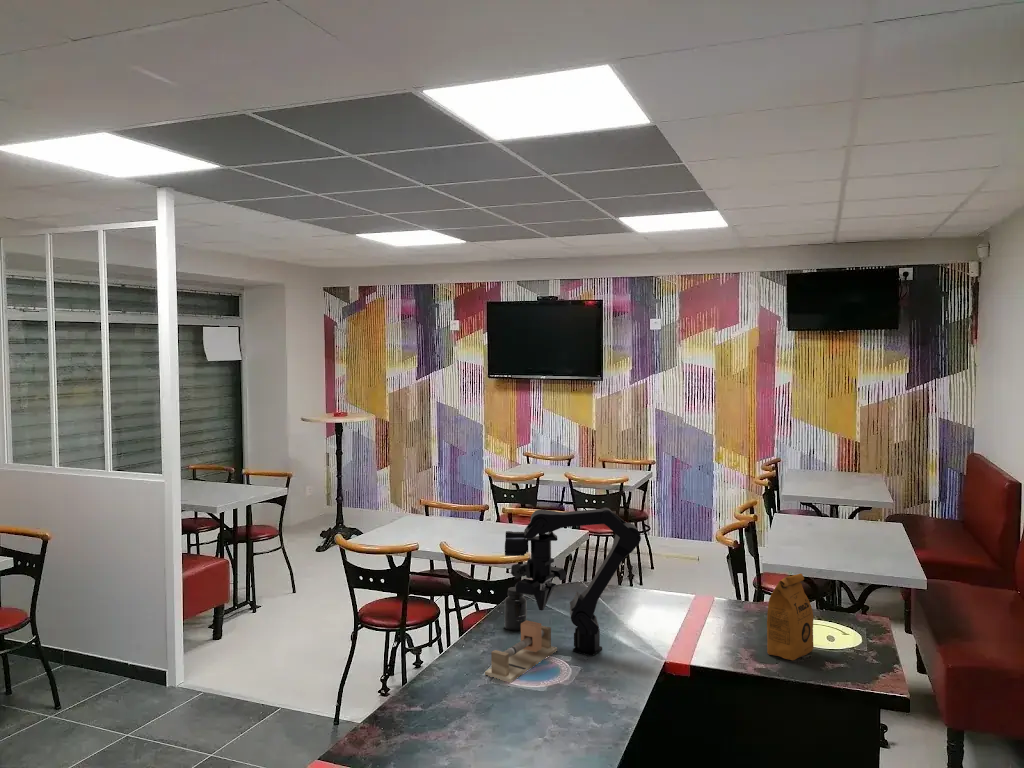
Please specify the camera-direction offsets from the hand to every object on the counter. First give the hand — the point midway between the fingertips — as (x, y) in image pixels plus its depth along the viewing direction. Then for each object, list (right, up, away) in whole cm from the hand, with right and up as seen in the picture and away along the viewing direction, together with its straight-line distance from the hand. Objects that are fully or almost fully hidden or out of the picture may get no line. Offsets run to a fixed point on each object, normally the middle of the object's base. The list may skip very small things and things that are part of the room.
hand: (541, 609), depth 208 cm
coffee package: (+69, -11, -4) cm, 70 cm away
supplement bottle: (-7, -11, +18) cm, 23 cm away
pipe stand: (-6, -12, -8) cm, 15 cm away
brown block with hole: (-3, -9, -4) cm, 11 cm away
